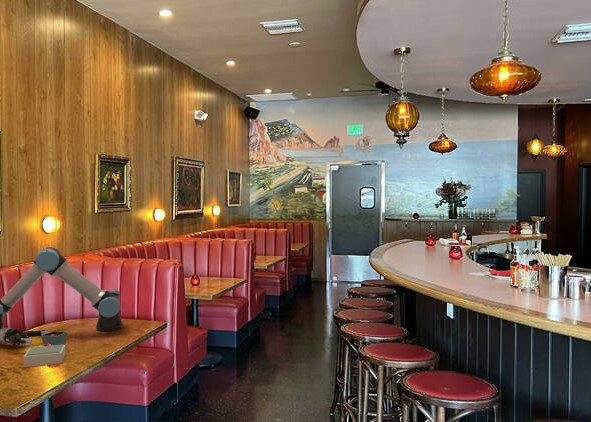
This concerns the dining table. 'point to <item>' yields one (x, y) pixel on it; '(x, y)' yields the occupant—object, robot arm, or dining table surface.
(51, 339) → the flower pot
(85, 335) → the dining table surface
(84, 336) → the dining table surface
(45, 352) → the grey box
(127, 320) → the dining table surface
